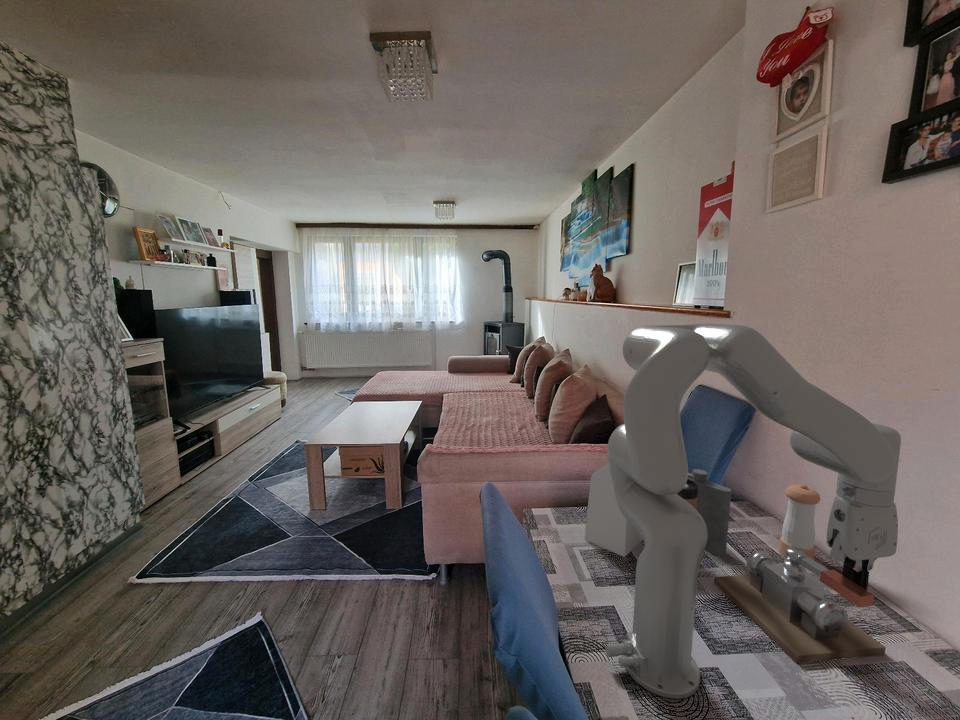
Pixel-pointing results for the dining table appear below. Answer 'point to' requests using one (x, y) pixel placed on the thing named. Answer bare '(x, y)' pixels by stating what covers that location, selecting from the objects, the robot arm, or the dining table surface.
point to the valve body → (796, 595)
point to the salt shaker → (800, 520)
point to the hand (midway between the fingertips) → (854, 586)
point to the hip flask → (713, 510)
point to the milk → (608, 517)
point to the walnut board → (796, 627)
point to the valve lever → (832, 578)
